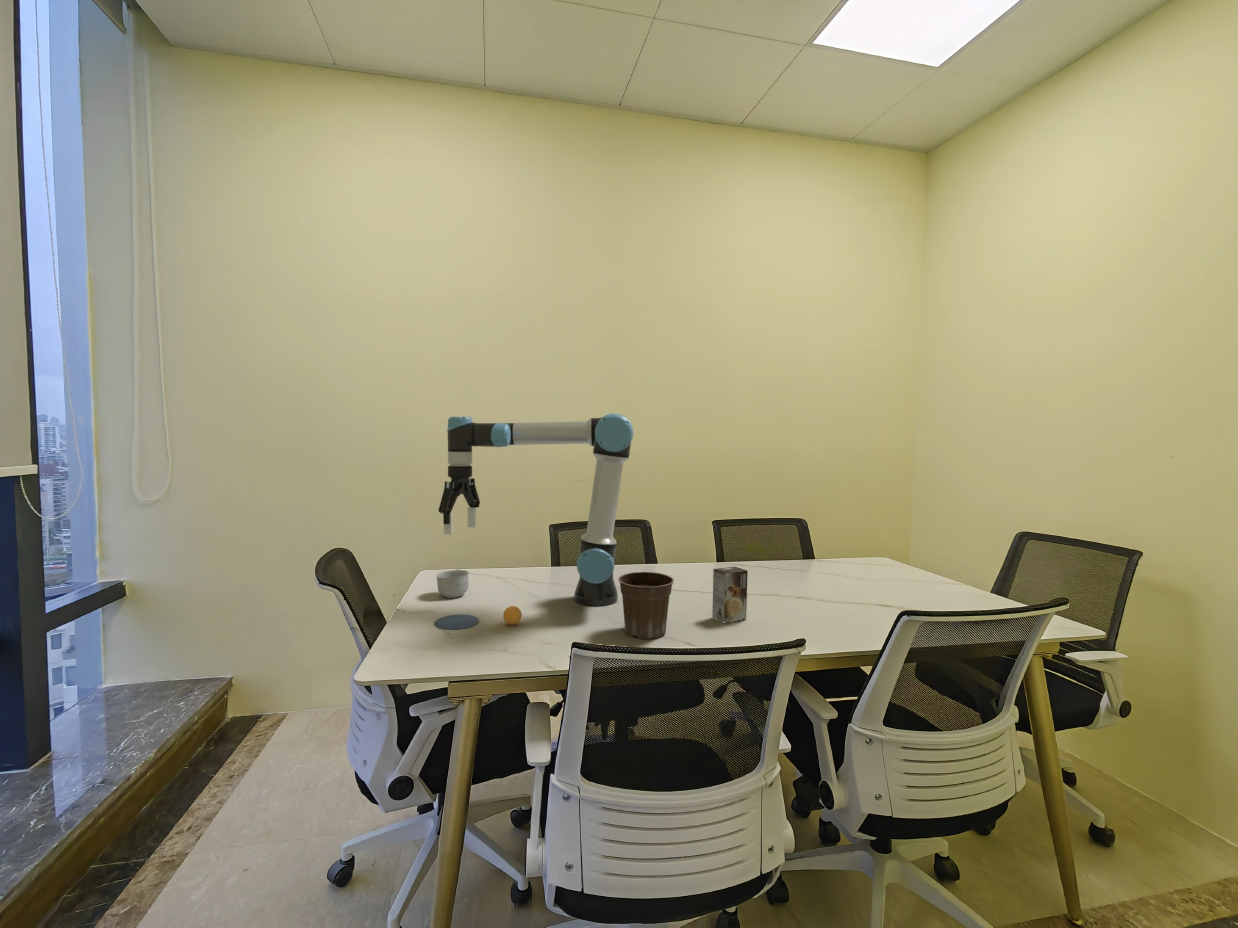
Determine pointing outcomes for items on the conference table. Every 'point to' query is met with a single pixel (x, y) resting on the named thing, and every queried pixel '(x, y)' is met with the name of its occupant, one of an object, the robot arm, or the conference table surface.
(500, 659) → the conference table surface
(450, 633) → the conference table surface
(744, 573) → the coffee box
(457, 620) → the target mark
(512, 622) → the ball
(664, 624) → the plant pot
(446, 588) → the teacup
